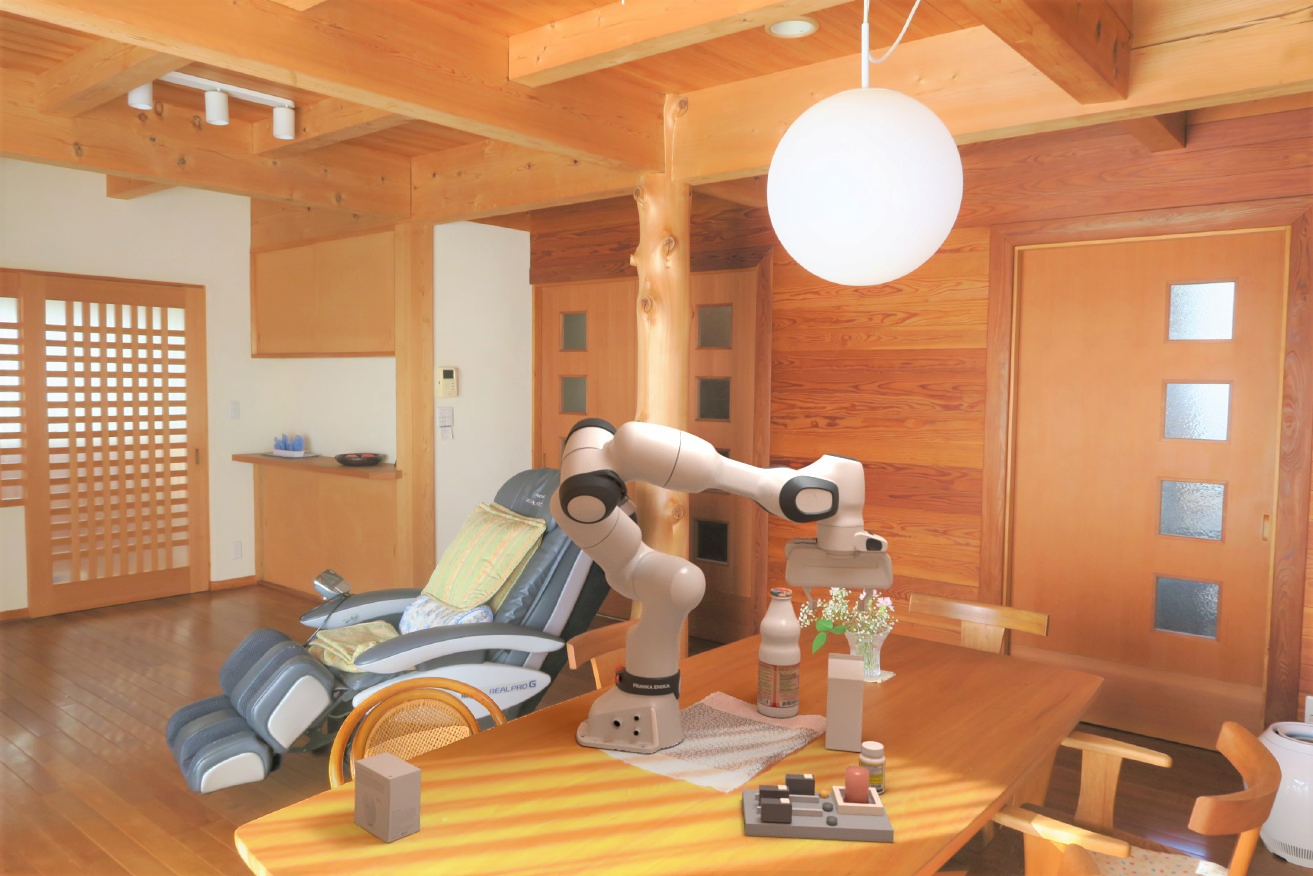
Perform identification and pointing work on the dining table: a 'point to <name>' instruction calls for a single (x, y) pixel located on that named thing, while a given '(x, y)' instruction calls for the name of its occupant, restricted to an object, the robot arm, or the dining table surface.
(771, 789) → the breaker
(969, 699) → the dining table surface
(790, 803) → the block
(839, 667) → the milk carton
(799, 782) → the block
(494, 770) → the dining table surface
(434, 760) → the dining table surface
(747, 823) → the panel
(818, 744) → the dining table surface
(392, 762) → the skincare box
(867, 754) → the supplement bottle
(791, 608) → the fruit juice
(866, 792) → the cap
